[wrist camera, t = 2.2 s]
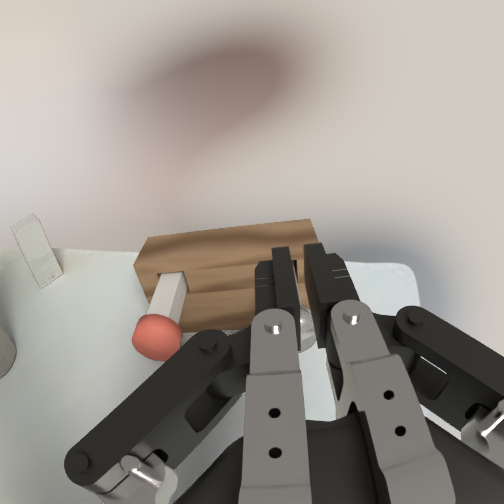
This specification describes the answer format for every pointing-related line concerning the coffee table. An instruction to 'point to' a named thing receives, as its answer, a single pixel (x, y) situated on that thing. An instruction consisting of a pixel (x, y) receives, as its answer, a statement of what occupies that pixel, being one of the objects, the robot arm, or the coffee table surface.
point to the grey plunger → (305, 324)
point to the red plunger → (162, 319)
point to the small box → (36, 250)
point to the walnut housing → (221, 269)
